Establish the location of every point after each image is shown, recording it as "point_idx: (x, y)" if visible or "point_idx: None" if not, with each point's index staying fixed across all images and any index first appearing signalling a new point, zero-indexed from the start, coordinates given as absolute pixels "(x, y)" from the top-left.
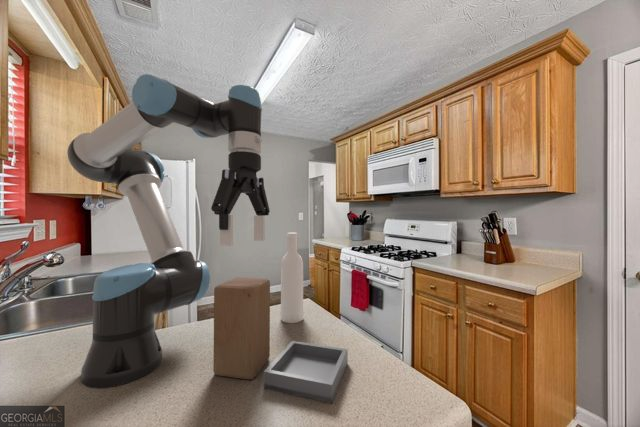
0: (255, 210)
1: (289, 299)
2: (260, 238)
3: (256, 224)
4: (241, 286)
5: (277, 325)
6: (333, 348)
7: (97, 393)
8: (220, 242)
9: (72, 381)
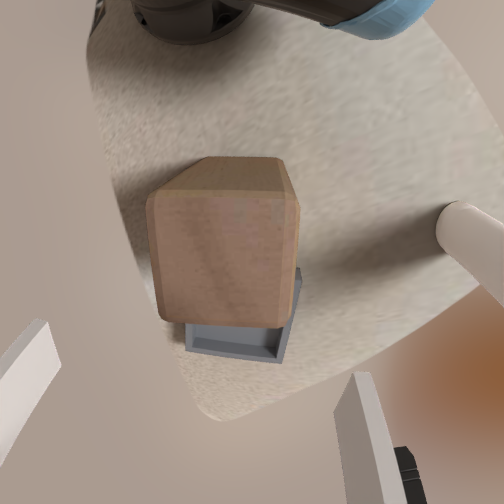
0: None
1: (463, 248)
2: (340, 411)
3: (368, 469)
4: (162, 287)
5: (425, 202)
6: (281, 347)
7: (130, 22)
8: (29, 328)
9: None
